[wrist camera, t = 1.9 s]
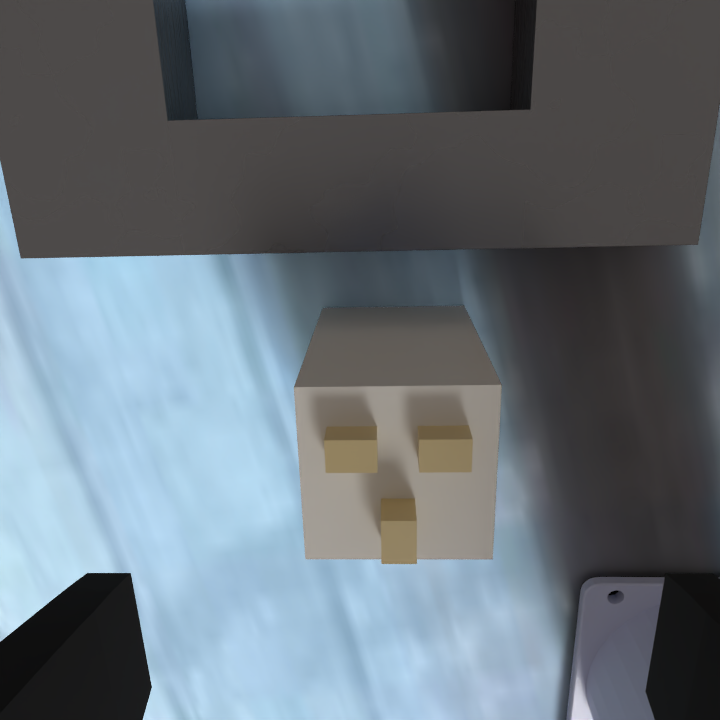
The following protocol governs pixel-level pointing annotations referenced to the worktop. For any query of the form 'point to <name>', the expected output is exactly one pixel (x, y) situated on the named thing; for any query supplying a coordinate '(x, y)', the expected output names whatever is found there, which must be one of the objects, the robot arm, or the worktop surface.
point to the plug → (397, 436)
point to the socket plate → (356, 142)
